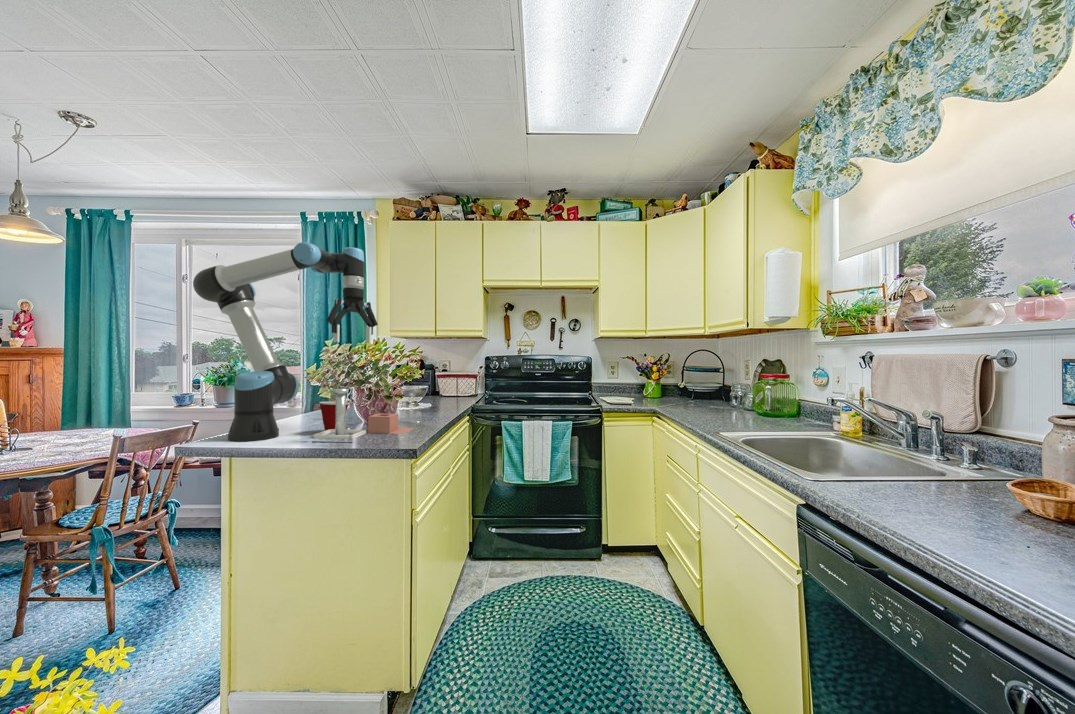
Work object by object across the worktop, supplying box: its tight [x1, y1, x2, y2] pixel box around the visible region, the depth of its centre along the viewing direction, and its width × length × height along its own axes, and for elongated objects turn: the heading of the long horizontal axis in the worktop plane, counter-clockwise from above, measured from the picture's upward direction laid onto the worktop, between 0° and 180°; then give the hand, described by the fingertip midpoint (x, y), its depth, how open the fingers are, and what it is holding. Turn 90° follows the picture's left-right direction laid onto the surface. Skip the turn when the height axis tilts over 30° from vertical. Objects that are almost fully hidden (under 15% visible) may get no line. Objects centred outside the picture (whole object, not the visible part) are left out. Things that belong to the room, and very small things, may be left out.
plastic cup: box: [318, 401, 351, 431], centre depth 162 cm, size 11×11×12 cm
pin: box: [332, 388, 349, 435], centre depth 149 cm, size 5×5×17 cm
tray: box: [311, 429, 368, 444], centre depth 149 cm, size 14×11×2 cm
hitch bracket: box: [367, 412, 415, 435], centre depth 160 cm, size 13×12×8 cm
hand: (353, 342), depth 165 cm, fingers open, 13 cm apart
